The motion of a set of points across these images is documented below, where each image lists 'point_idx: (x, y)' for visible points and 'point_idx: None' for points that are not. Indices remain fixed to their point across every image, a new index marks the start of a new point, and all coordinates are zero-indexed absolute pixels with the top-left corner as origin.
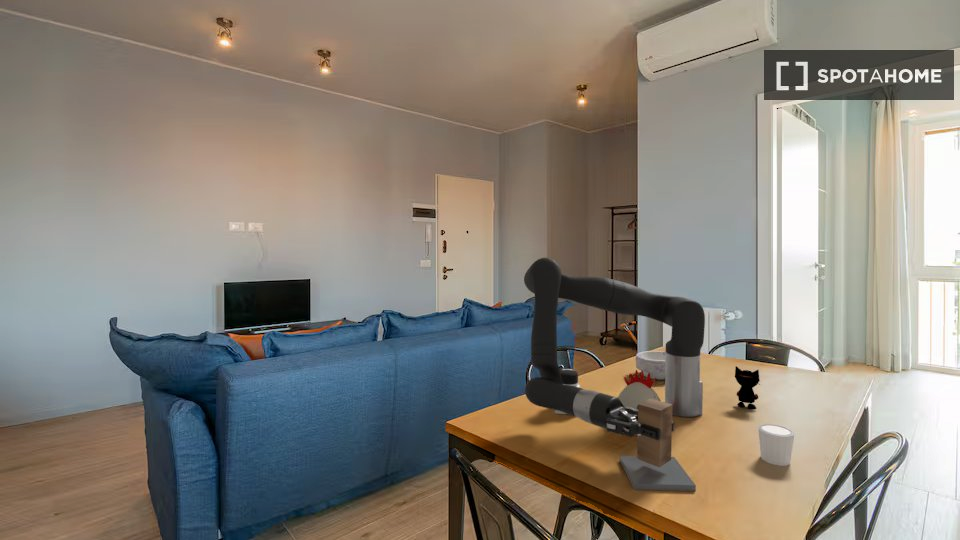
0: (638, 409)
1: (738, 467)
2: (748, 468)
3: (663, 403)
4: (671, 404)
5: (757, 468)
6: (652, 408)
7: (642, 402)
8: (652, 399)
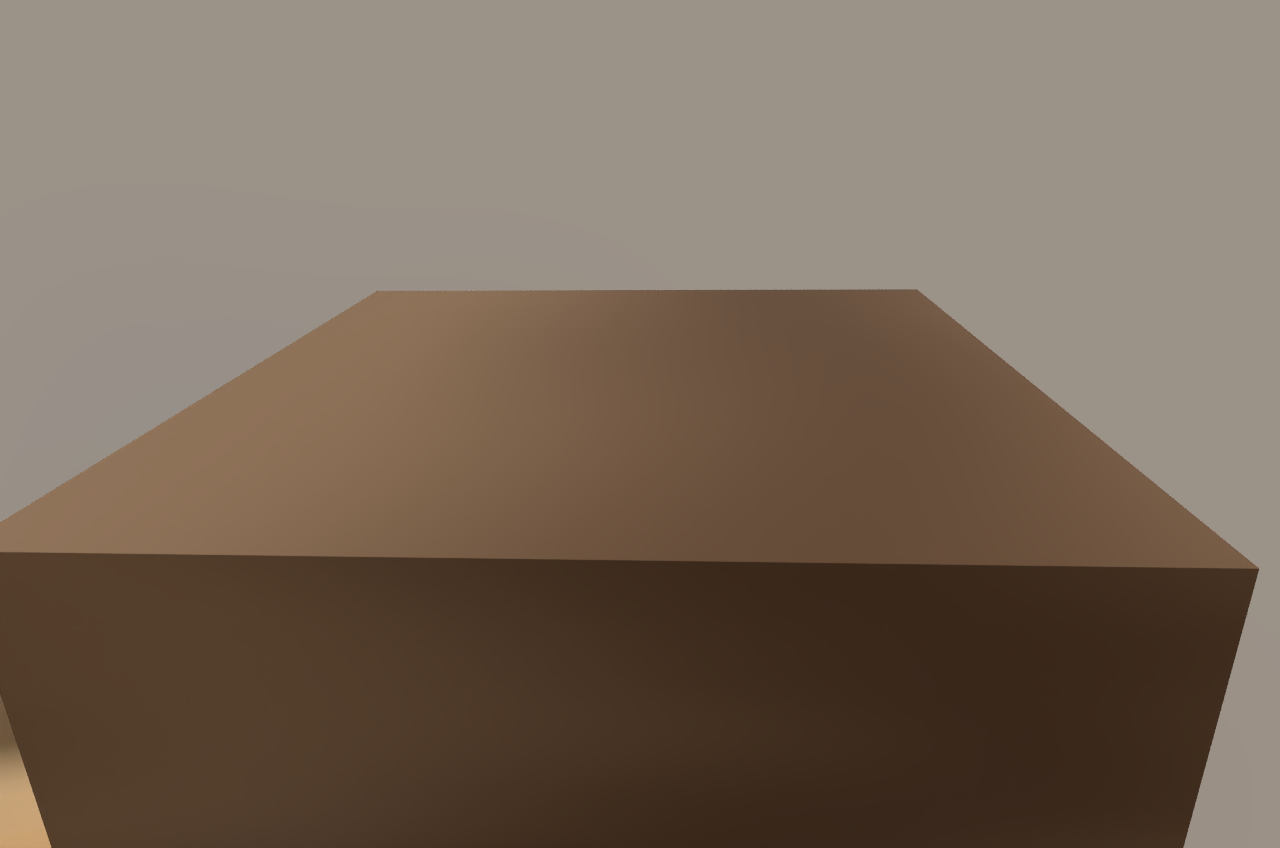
0: (1170, 808)
1: (15, 818)
2: (19, 770)
3: (411, 331)
4: (381, 293)
5: (4, 735)
6: (980, 349)
7: (844, 545)
8: (106, 487)
